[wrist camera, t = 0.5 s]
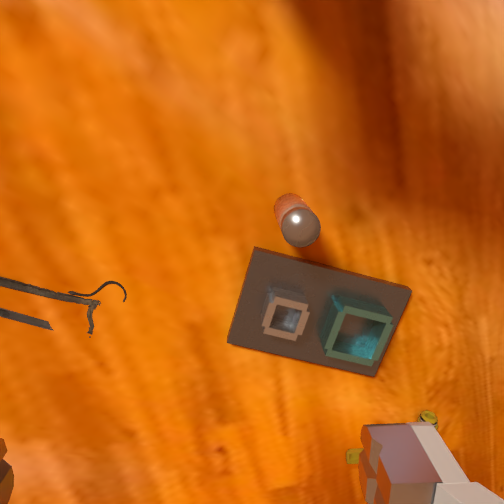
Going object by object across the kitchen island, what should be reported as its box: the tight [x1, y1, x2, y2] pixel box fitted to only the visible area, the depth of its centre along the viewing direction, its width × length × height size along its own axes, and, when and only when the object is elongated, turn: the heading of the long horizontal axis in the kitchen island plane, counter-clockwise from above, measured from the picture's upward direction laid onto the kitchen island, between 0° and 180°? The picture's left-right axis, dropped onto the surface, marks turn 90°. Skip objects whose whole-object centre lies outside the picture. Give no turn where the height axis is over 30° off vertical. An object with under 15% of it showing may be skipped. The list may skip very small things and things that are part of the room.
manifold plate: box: [227, 246, 412, 377], centre depth 52 cm, size 14×22×4 cm, turn 74°
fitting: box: [274, 193, 321, 247], centre depth 45 cm, size 4×4×10 cm
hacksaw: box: [0, 277, 127, 338], centre depth 52 cm, size 24×10×2 cm, turn 70°
